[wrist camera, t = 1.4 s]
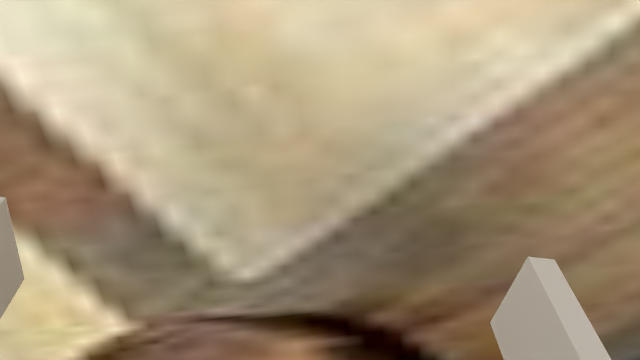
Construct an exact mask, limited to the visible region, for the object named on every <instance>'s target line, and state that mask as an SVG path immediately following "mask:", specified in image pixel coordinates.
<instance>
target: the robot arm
mask: <svg viewBox="0 0 640 360" xmlns="http://www.w3.org/2000/svg"><path fill="white" fill-rule="evenodd" d="M23 280H24V275H23V271H22V266H21V262H20V258H19V254H18V249H17V245H16V241H15V236H14V232H13V228H12V223H11V219H10V215H9V210H8V206H7V202H6V197H0V318H1V317H2V315H3V313H4V312H5V310H6V308H7V307H8V305H9V303H10V302H11V300H12V298H13V297H14V295H15V293H16V292H17V290H18V288H19V287H20V285H21V283H22V282H23ZM490 324H491V327H492V329H493V332H494V335H495V337H496V340H497V343H498V345H499V348H500V351H501V354H502V356H503V359H504V360H611V358H610V356H609V355H608V353H607V351H606V349H605V348H604V346H603V344H602V342H601V341H600V339H599V337H598V335H597V334H596V332H595V330H594V328H593V326H592V325H591V323H590V321H589V319H588V318H587V316H586V314H585V312H584V311H583V309H582V307H581V305H580V304H579V302H578V300H577V298H576V297H575V295H574V293H573V291H572V290H571V288H570V286H569V284H568V282H567V281H566V279H565V277H564V275H563V274H562V272H561V270H560V268H559V267H558V265H557V263H556V261H555V260H554V259H545V258H536V257H527V259H526V261H525V262H524V264H523V266H522V268H521V269H520V271H519V273H518V275H517V276H516V278H515V280H514V282H513V283H512V285H511V287H510V289H509V290H508V292H507V294H506V296H505V297H504V299H503V301H502V303H501V304H500V306H499V308H498V310H497V311H496V313H495V315H494V317H493V318H492V320H491V322H490Z"/></svg>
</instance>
